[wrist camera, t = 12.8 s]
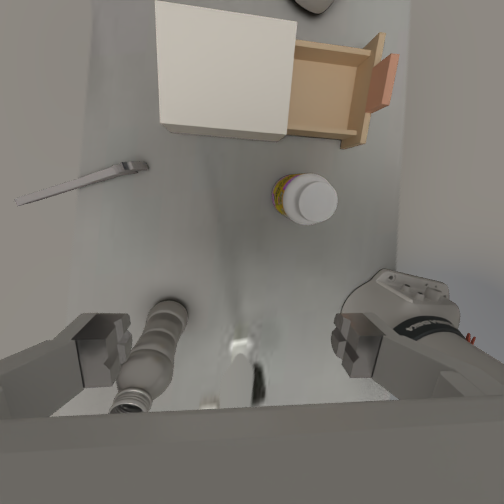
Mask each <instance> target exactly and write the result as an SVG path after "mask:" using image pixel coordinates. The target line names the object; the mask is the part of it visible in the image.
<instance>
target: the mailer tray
mask: <svg viewBox="0 0 504 504" xmlns="http://www.w3.org/2000/svg"><path fill="white" fill-rule="evenodd" d="M385 35H386V33H382V32H380V33H378V34H377V35H376V36H375V37H374V38H373V39H372V40H371V41H370V42H369V43H368V44H367V45H366V46H365V47H364V48H363V49H359V48H352V47H345V46H338V45H331V44H324V43H317V42H310V41H303V40H296V41H295V51H294V62H293V72H292V83H291V93H290V103H289V114H288V124H287V135H297V136H308V137H319V138H330V139H341V140H342V142H341V148H340V149H347V148H351V147H355V146H358V145H362V144H365V143H366V138H367V133H368V128H369V122H370V117H371V113H373V112H376V111H378V110H380V109H382V108H384V107H386V106H388V105H389V104H390V99H391V94H392V89H393V84H394V80H395V75H396V70H397V65H398V60H399V54H392V53H391V54H390V55H389V56H387V57H386V58H385V59H383V60H382V61H381V57H382V52H383V46H384V41H385Z"/></svg>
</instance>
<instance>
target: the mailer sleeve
mask: <svg viewBox="0 0 504 504" xmlns="http://www.w3.org/2000/svg"><path fill="white" fill-rule="evenodd" d="M155 15H156V38H157V61H158V84H159V108H160V123H161V124H162V125H163V126H164V127H165V128H166V129H168V130H169V131H170V132H171V133H181V134H192V135H204V136H215V137H226V138H238V139H249V140H260V141H272V142H278V141H279V140H280V139H282V138H283V137H284V136H285V135H287V124H288V114H289V103H290V93H291V83H292V72H293V62H294V51H295V41H296V30H297V22H296V21H289V20H282V19H276V18H269V17H262V16H256V15H249V14H243V13H236V12H229V11H223V10H216V9H210V8H203V7H196V6H190V5H183V4H176V3H170V2H163V1H157V0H155Z"/></svg>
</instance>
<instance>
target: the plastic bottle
mask: <svg viewBox="0 0 504 504" xmlns="http://www.w3.org/2000/svg"><path fill="white" fill-rule="evenodd" d="M187 321H188V318H187V311H186V309H185V308H184V307H183V306H182V305H181V304H180V303H178V302H175V301H162V302H160V303H158V304H156V305H155V306H154V307H153V308H152V309H151V310H150V312H149V314H148V317H147V320H146V325H145V328H144V330H143V333H142V335H141V337H140V338H139V340H138V341H137V343H136V344H135V346H134V347H133V348H132V350H131V351H130V355H129V357H128V359H127V361H125V362H124V363H122V364H121V365H120V367H121V371H120V373H119V375H118V377H117V378H116V384H117V389H118V393H117V395H116V396H115V398H114V401H113V404H112V406H111V408H110V410H109V413H108V414H120V413H141V412H148V411H149V410H150V408H151V406H152V402H153V400H154V399H156V398H157V397H158V396H160V395H161V394H162V393H163V392H164V391H165V390H166V389H167V387H168V386H169V384H170V383H171V380H172V376H173V369H174V357H175V352H176V347H177V343H178V341H179V338H180V336H181V334H182V333H183V331H184V329H185V327H186V325H187Z"/></svg>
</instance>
